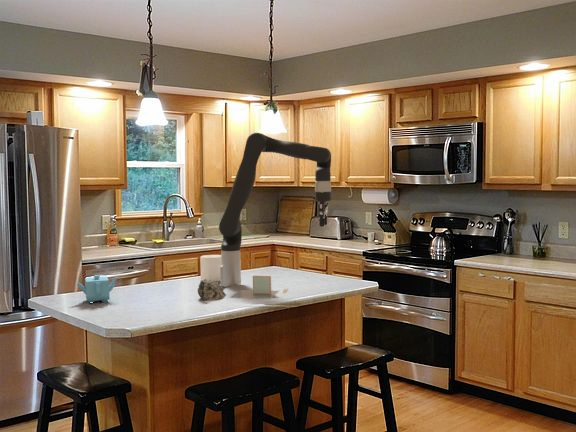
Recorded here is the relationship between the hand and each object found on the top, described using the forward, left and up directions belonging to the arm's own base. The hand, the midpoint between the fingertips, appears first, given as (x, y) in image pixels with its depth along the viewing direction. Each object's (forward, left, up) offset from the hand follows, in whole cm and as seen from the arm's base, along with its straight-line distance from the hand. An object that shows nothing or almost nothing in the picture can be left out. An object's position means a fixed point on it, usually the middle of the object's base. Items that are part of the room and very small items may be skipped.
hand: (323, 225), depth 298 cm
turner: (-15, -18, -29) cm, 38 cm away
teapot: (-91, -44, -30) cm, 105 cm away
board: (-27, -24, -29) cm, 47 cm away
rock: (-44, -32, -30) cm, 62 cm away
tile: (-24, -23, -28) cm, 44 cm away
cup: (-60, +16, -30) cm, 69 cm away
